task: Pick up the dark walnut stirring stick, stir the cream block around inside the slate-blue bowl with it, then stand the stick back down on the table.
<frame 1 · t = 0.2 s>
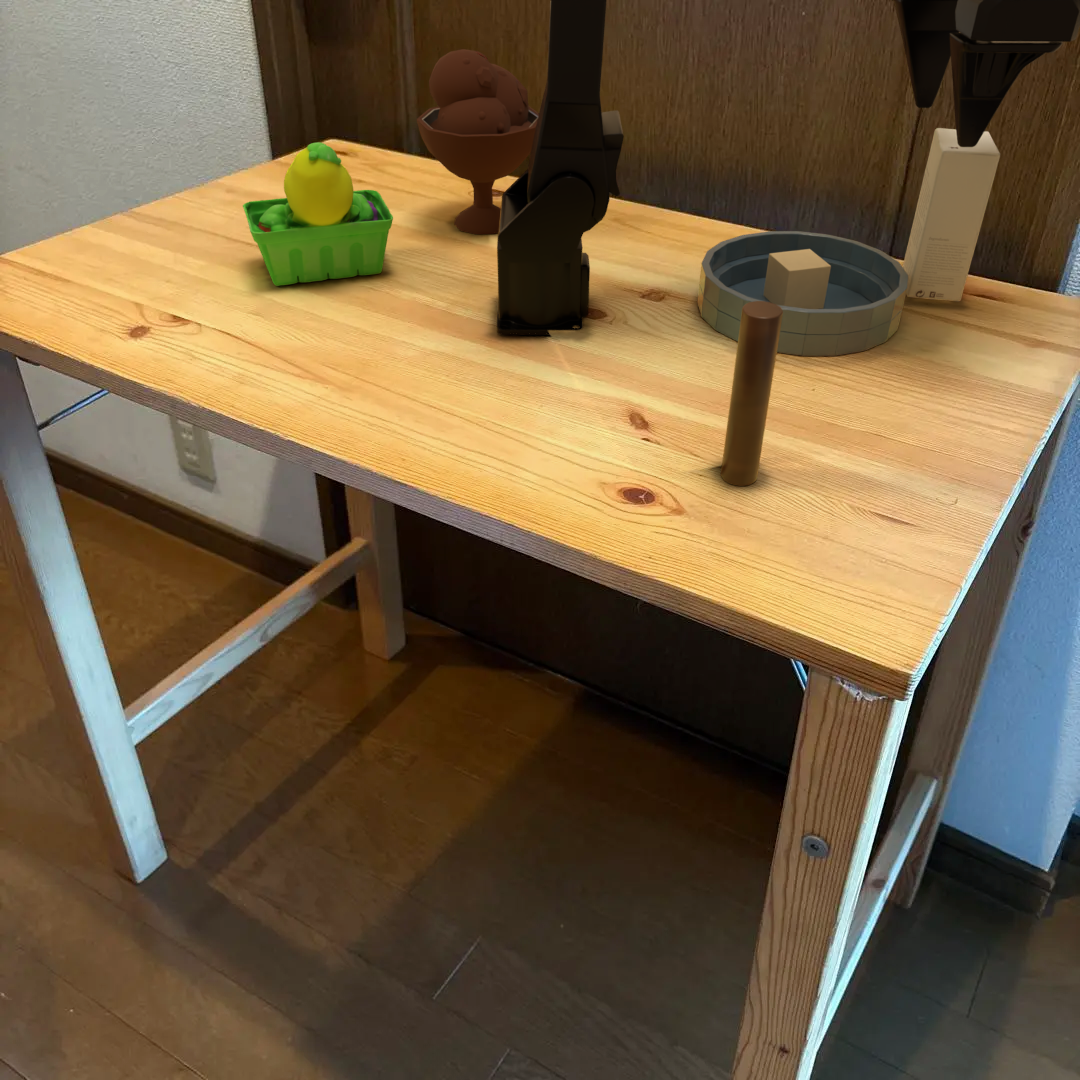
hand: (943, 125, 72), 15 cm above the table, tool pointing down, fingers open, 9 cm apart
block: (792, 301, 82), point 1 cm above the table, touching bowl
bowl: (795, 317, 81), on the table
fruit basket: (326, 273, 88), on the table
cosmetic box: (928, 292, 85), on the table
ice cream bowl: (484, 225, 96), on the table
stick: (738, 476, 63), on the table
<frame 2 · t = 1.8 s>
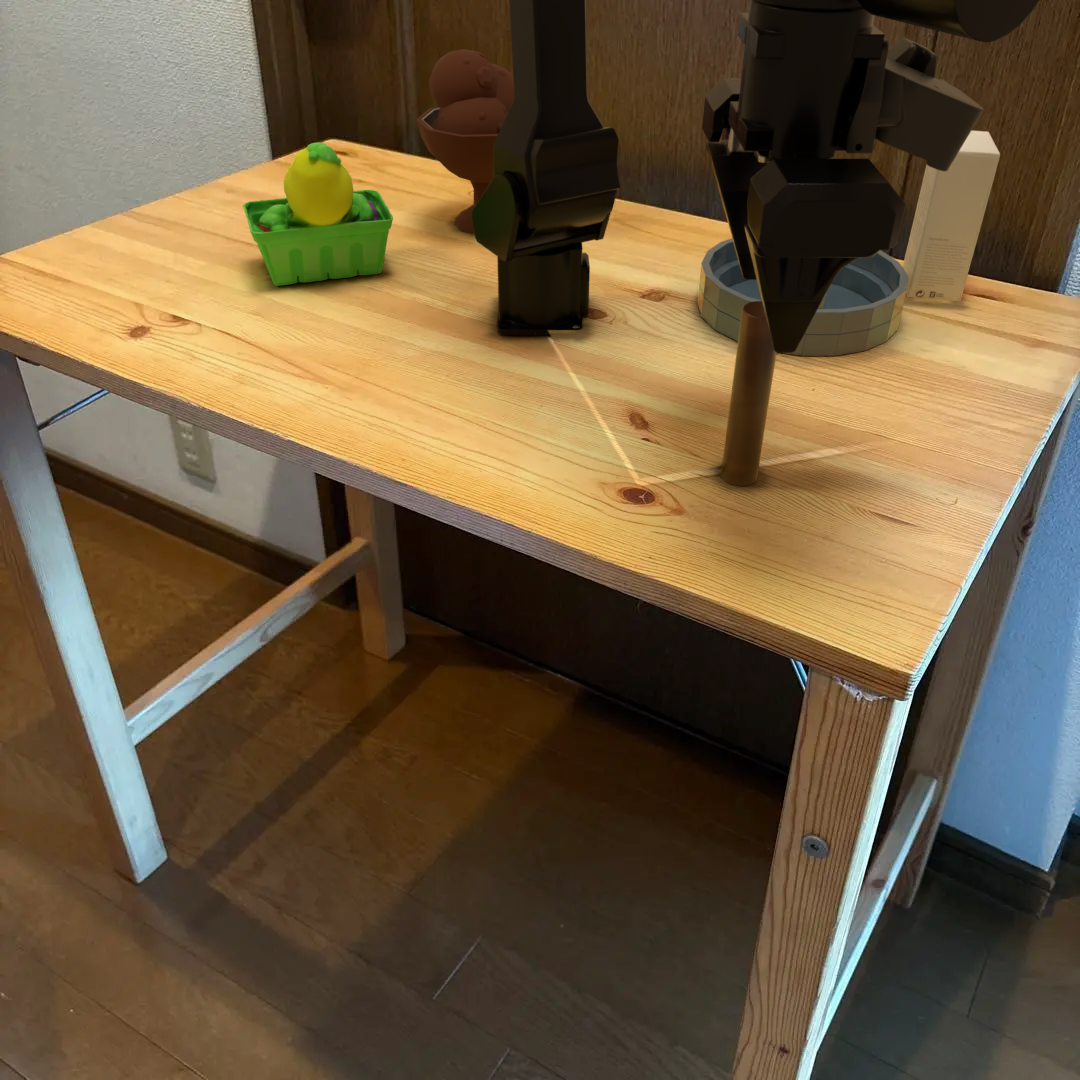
hand: (767, 312, 57), 11 cm above the table, tool pointing down, fingers open, 9 cm apart
nothing on the table moved.
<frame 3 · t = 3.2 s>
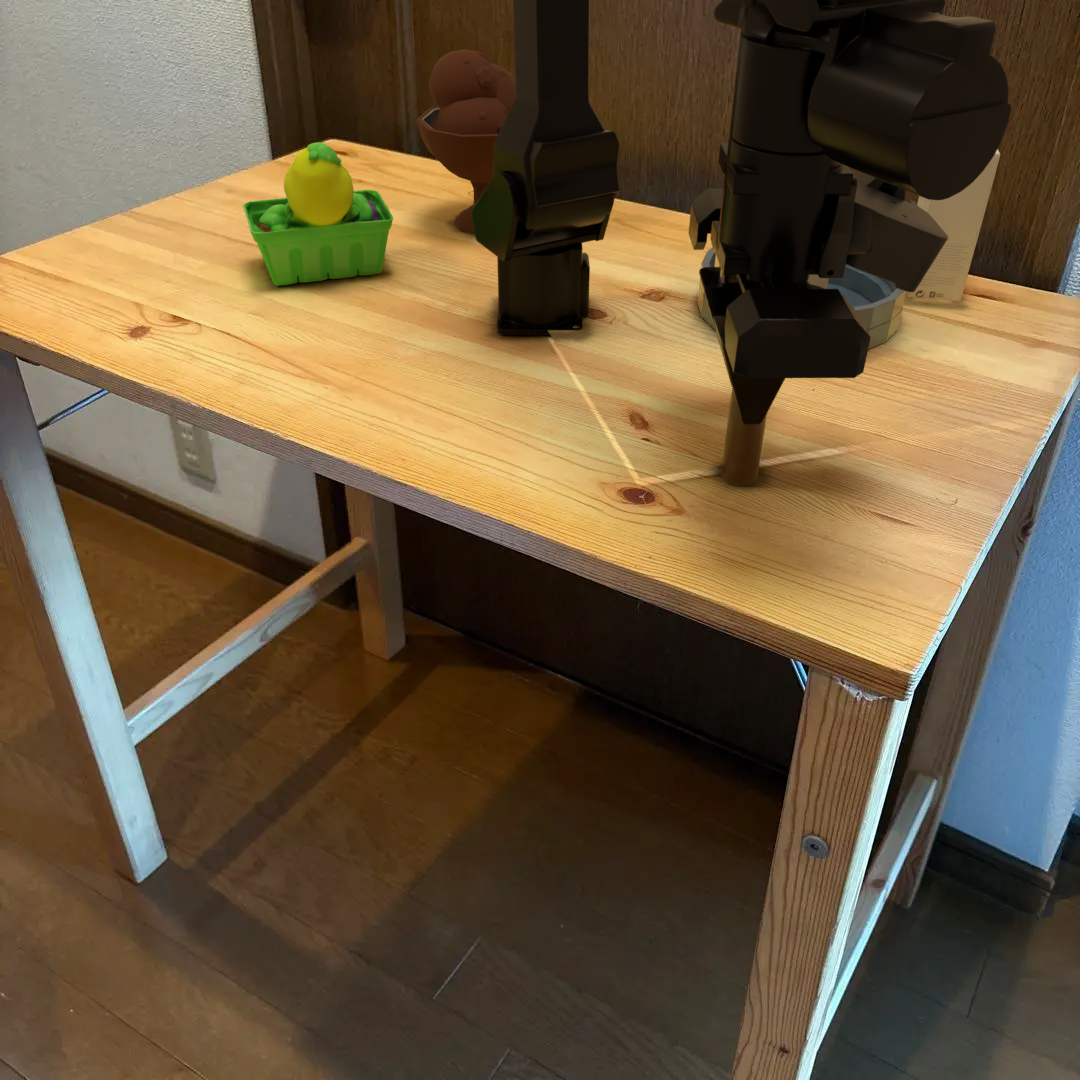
hand: (748, 412, 60), 5 cm above the table, tool pointing down, fingers closed on stick, 2 cm apart
stick: (738, 476, 63), on the table, touching gripper
everything else where it was.
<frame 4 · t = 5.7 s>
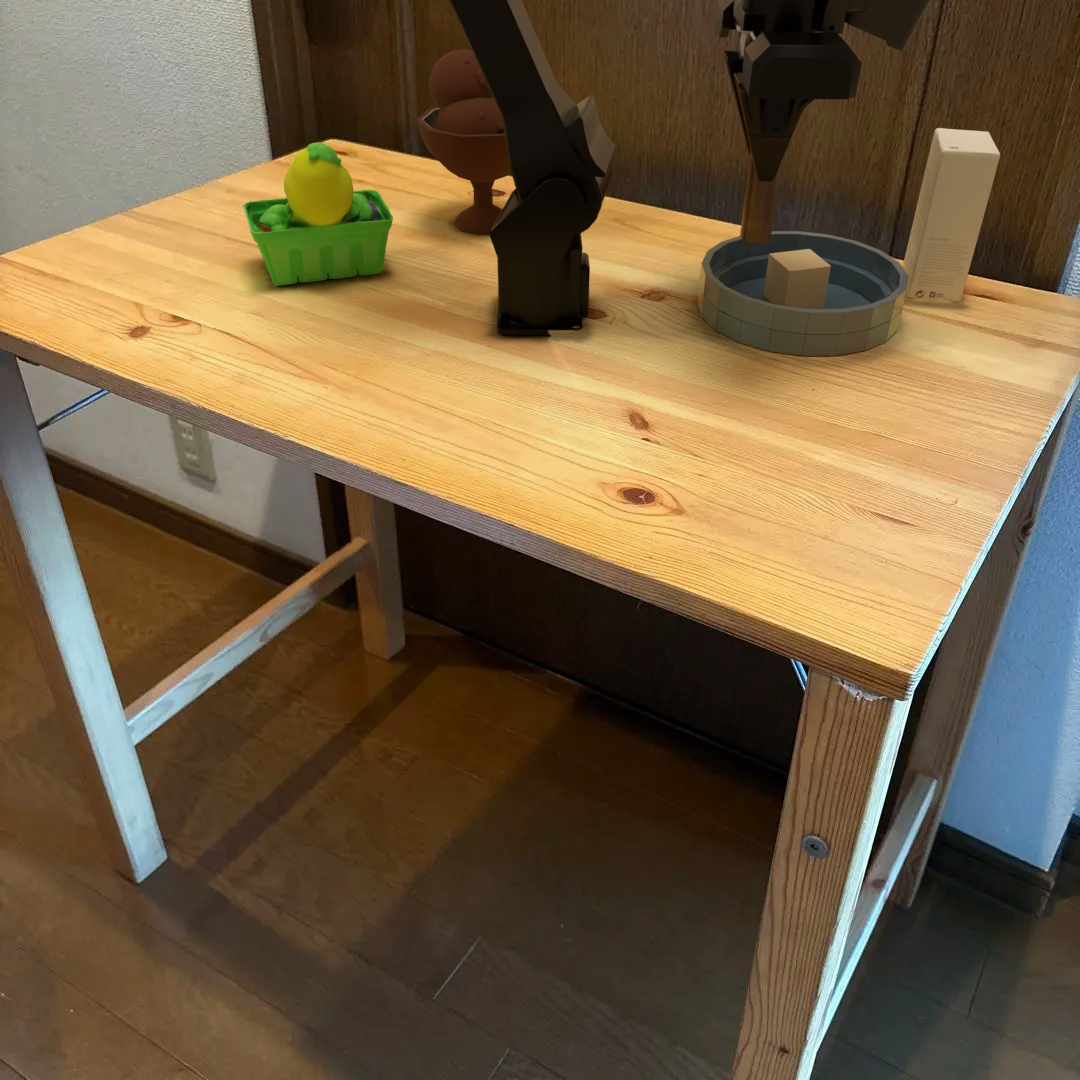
hand: (762, 174, 71), 12 cm above the table, tool pointing down, fingers closed on stick, 2 cm apart
stick: (755, 238, 74), point 7 cm above the table, touching gripper
everything else where it was.
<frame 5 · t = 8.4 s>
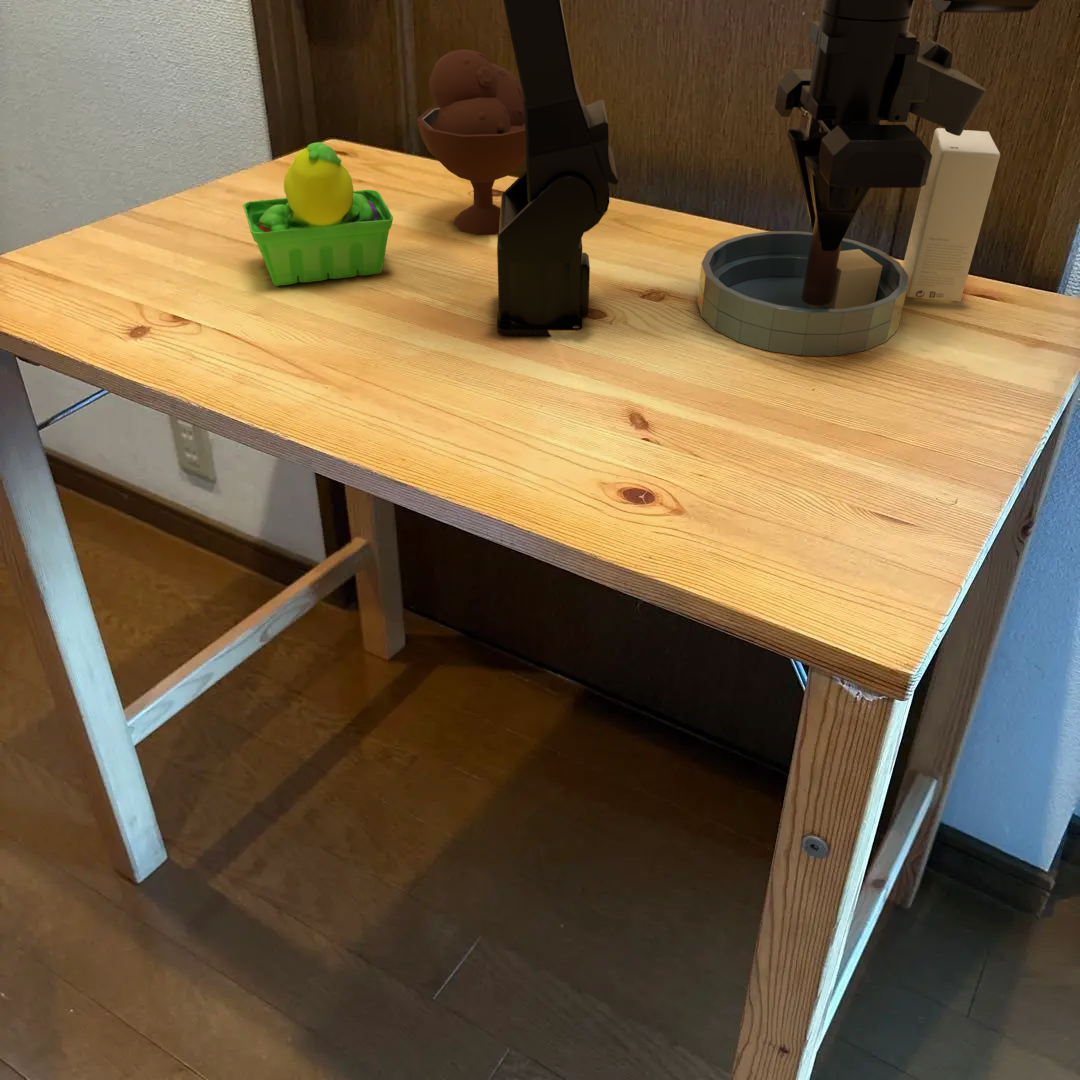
hand: (825, 243, 77), 6 cm above the table, tool pointing down, fingers closed on stick, 2 cm apart
block: (842, 302, 82), point 1 cm above the table, touching bowl
stick: (815, 300, 80), point 2 cm above the table, touching gripper
everything else where it was.
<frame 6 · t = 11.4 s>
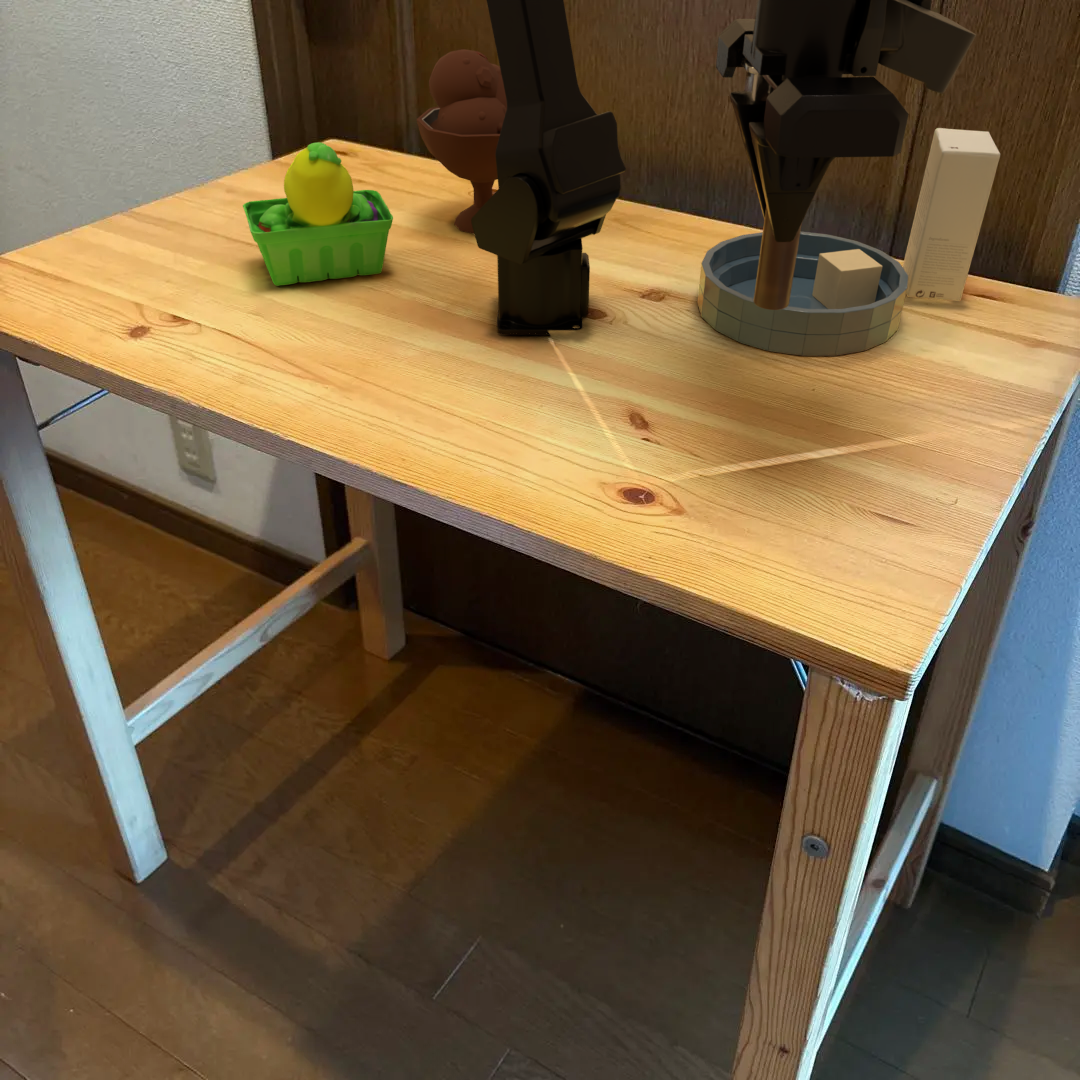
hand: (779, 233, 62), 12 cm above the table, tool pointing down, fingers closed on stick, 2 cm apart
stick: (771, 302, 65), point 8 cm above the table, touching gripper
everything else where it was.
when the fingers open (4 cm above the table, at t = 13.7 s): stick stays where it is, on the table.
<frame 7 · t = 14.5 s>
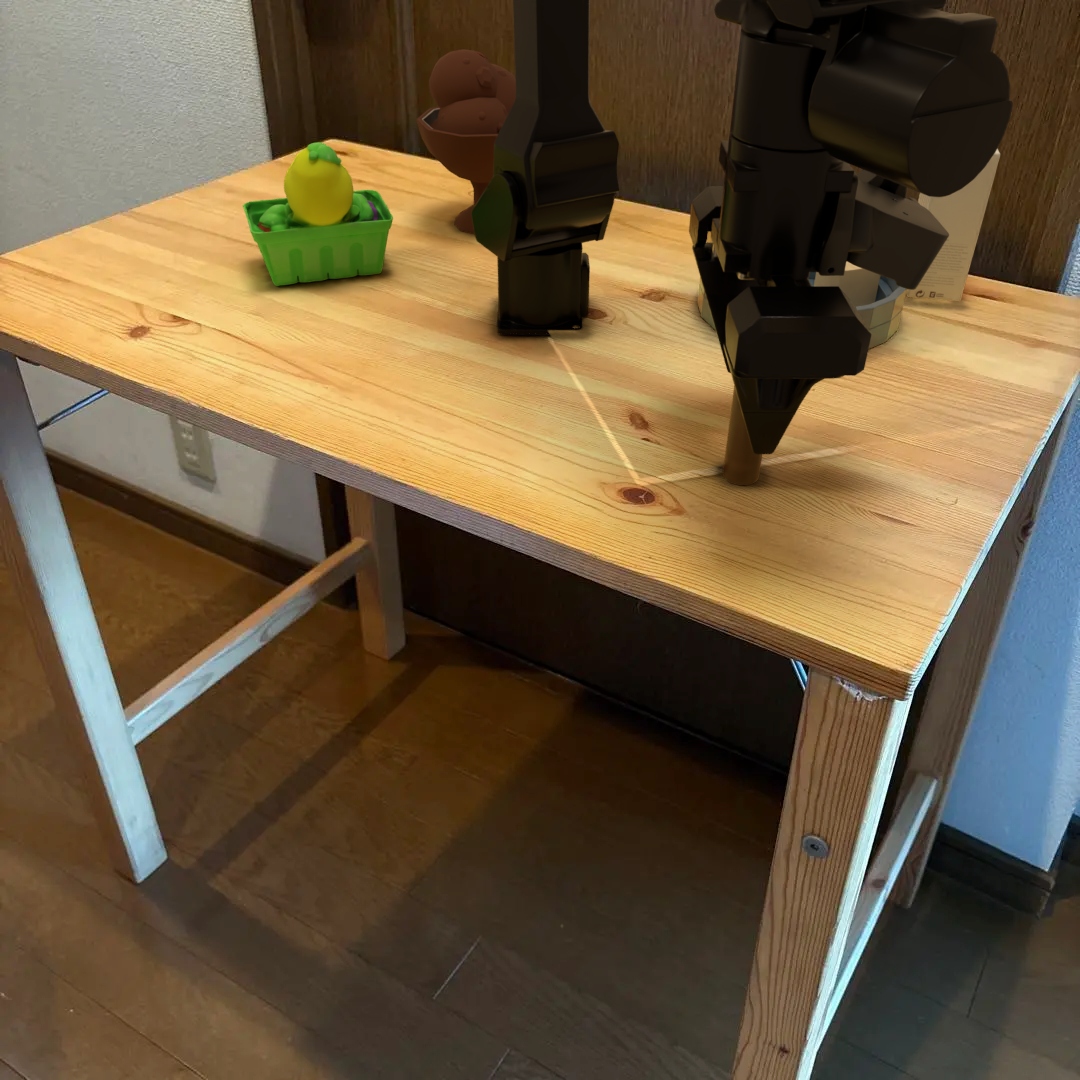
hand: (748, 410, 60), 5 cm above the table, tool pointing down, fingers open, 9 cm apart
stick: (740, 475, 63), on the table
everything else where it was.
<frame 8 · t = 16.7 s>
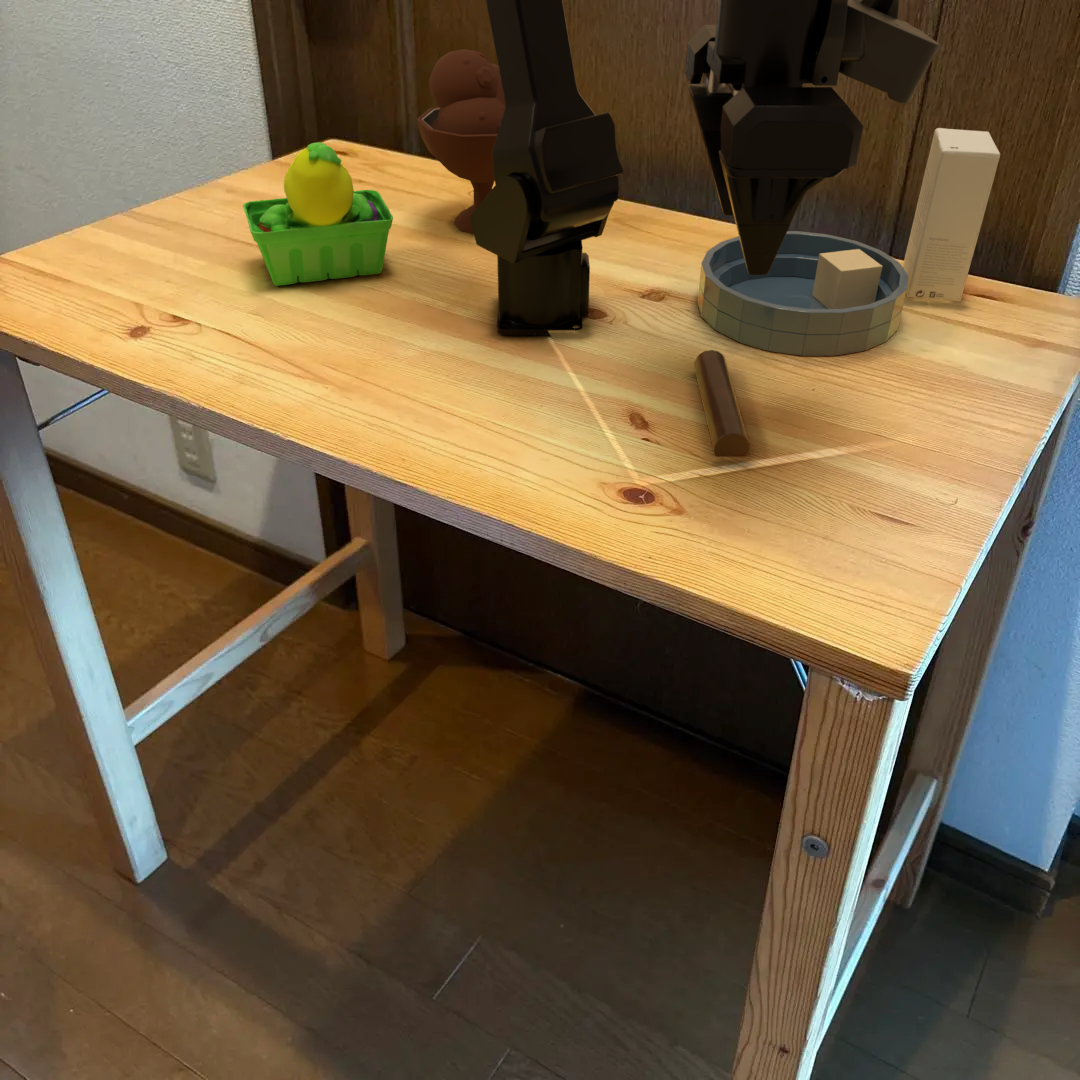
hand: (744, 242, 61), 12 cm above the table, tool pointing down, fingers open, 9 cm apart
stick: (731, 448, 64), point 1 cm above the table, tilted 90°
everything else where it was.
at the end: block moved 3.9 cm from its start; block inside the target area in the bowl (4.2 cm from its centre), point 0.6 cm above the bowl's base; the gripper is holding nothing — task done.
